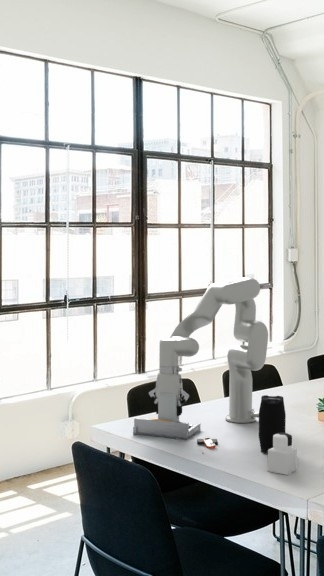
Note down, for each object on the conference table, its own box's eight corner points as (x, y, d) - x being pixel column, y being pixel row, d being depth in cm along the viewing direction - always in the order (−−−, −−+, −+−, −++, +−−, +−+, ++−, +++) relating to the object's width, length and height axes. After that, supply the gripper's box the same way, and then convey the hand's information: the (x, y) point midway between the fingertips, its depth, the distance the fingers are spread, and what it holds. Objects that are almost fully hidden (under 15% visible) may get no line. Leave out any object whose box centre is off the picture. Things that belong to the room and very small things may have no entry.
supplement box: (176, 427, 273) (176, 394, 273) (157, 426, 275) (157, 394, 274) (179, 422, 280) (179, 391, 280) (161, 421, 282) (161, 390, 281)
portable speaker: (254, 450, 252) (254, 395, 251) (277, 447, 255) (277, 393, 255) (266, 456, 244) (266, 400, 243) (289, 453, 247) (290, 398, 247)
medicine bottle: (276, 466, 233) (277, 430, 233) (296, 469, 229) (297, 433, 229) (267, 471, 227) (267, 434, 227) (287, 475, 223) (288, 438, 223)
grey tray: (200, 430, 280) (200, 414, 279) (186, 440, 265) (186, 423, 265) (149, 425, 288) (149, 409, 287) (133, 434, 273) (133, 418, 273)
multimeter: (229, 457, 245) (229, 447, 245) (194, 456, 246) (194, 446, 246) (229, 443, 263) (229, 434, 262) (197, 442, 264) (197, 433, 264)
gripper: (193, 370, 277) (192, 414, 278) (152, 367, 283) (151, 410, 284) (186, 373, 270) (186, 418, 271) (144, 370, 276) (144, 414, 277)
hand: (168, 414), depth 277 cm, fingers closed on supplement box, 8 cm apart
